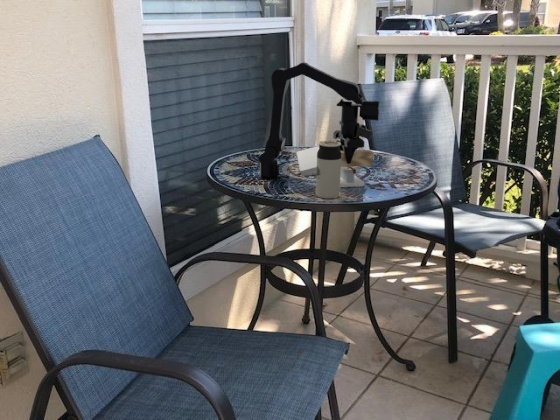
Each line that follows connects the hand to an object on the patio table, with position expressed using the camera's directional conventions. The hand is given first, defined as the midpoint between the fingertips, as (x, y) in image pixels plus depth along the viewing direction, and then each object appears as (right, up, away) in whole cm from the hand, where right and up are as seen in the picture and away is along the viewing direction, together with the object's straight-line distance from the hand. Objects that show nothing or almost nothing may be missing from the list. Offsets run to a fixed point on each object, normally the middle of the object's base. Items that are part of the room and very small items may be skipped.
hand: (346, 162), depth 206 cm
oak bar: (0, -1, 0) cm, 1 cm away
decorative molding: (-11, 0, +27) cm, 30 cm away
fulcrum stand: (0, -7, +2) cm, 7 cm away
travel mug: (-8, -13, -15) cm, 21 cm away
